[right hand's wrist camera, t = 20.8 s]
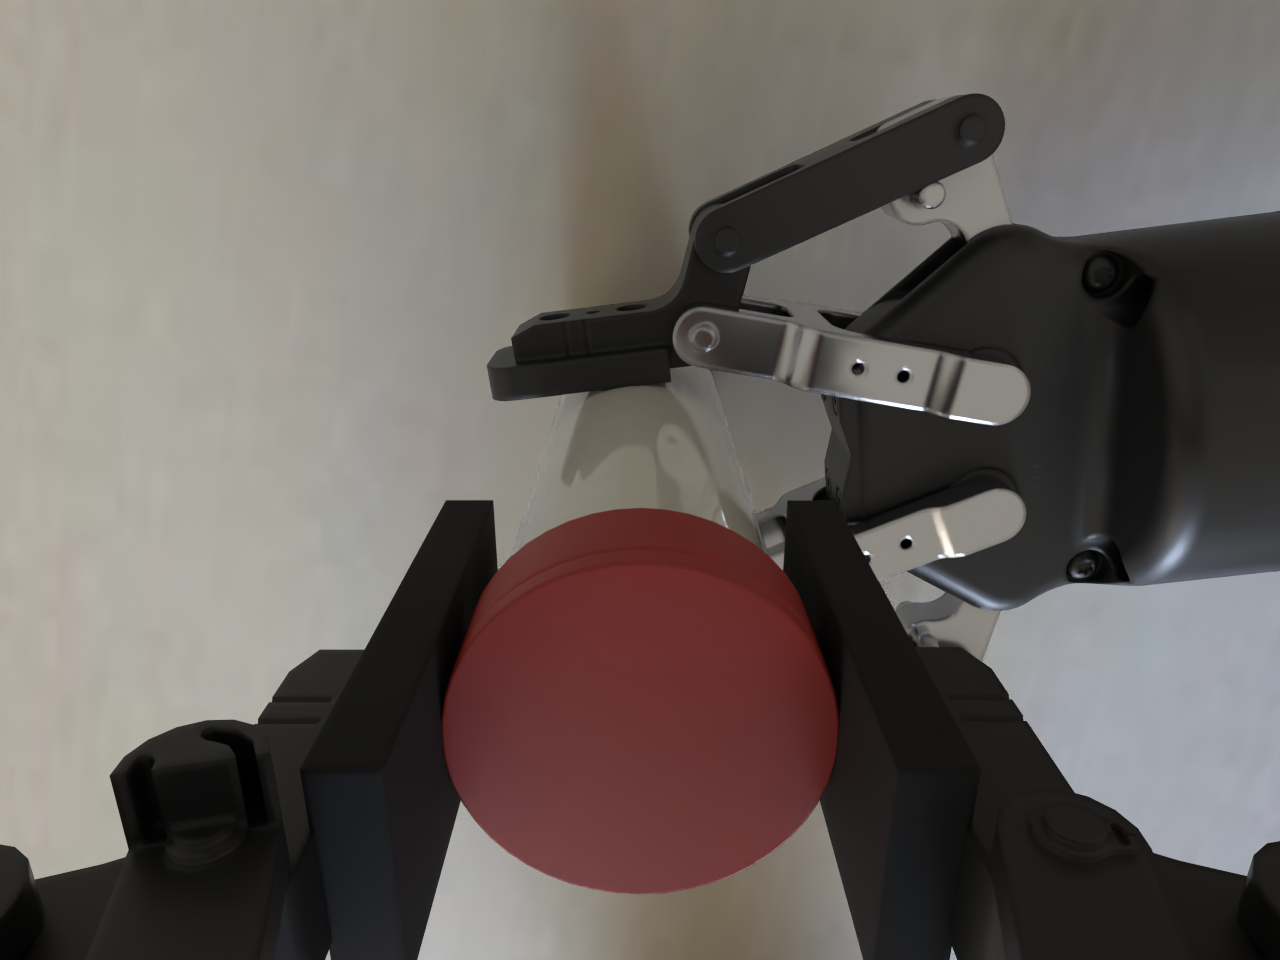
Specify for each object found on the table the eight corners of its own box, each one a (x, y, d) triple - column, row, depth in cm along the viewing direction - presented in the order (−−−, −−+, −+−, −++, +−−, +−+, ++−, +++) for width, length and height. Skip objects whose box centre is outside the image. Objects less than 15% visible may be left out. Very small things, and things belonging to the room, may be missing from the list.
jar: (566, 316, 25) (465, 551, 10) (718, 320, 25) (825, 561, 10) (566, 459, 26) (478, 836, 12) (709, 464, 26) (792, 844, 12)
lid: (860, 744, 12) (890, 829, 11) (553, 846, 13) (542, 938, 12) (743, 450, 11) (761, 499, 9) (403, 581, 12) (367, 648, 10)
